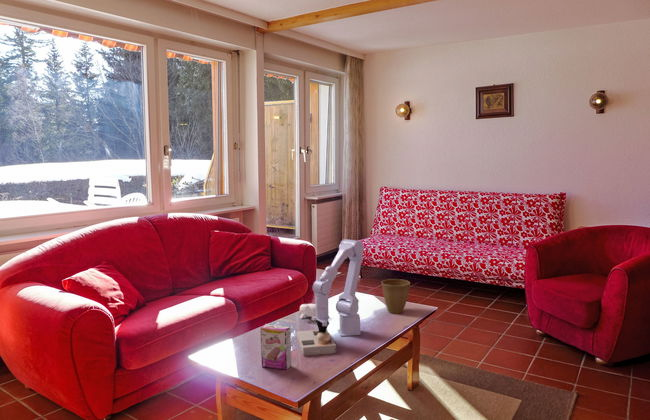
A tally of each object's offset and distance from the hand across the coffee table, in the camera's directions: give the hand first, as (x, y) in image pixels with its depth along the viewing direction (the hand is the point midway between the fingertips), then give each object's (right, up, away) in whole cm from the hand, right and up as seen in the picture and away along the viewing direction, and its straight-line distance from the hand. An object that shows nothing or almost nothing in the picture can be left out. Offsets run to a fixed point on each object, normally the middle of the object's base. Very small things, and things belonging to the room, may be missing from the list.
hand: (322, 336), depth 228 cm
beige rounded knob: (+1, -1, -4) cm, 4 cm away
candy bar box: (-18, -6, -24) cm, 31 cm away
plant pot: (+39, +3, +42) cm, 57 cm away
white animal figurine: (-7, +1, +34) cm, 35 cm away
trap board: (-3, -3, -1) cm, 5 cm away
